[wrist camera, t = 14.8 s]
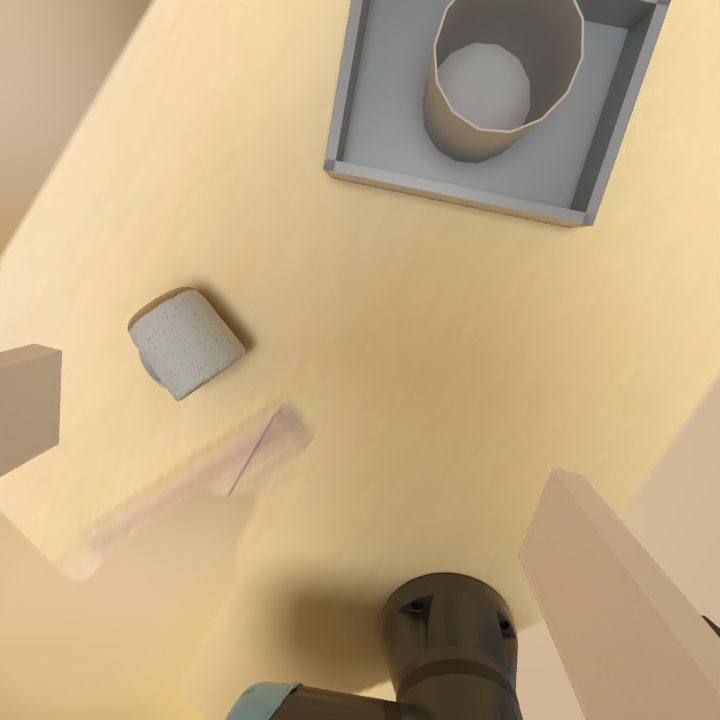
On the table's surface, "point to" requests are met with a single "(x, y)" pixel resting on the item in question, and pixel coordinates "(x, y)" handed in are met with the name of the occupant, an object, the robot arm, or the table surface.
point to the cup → (499, 72)
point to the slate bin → (521, 160)
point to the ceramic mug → (183, 341)
